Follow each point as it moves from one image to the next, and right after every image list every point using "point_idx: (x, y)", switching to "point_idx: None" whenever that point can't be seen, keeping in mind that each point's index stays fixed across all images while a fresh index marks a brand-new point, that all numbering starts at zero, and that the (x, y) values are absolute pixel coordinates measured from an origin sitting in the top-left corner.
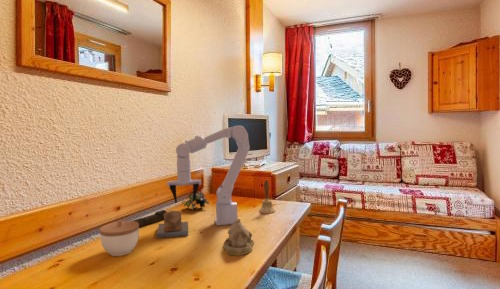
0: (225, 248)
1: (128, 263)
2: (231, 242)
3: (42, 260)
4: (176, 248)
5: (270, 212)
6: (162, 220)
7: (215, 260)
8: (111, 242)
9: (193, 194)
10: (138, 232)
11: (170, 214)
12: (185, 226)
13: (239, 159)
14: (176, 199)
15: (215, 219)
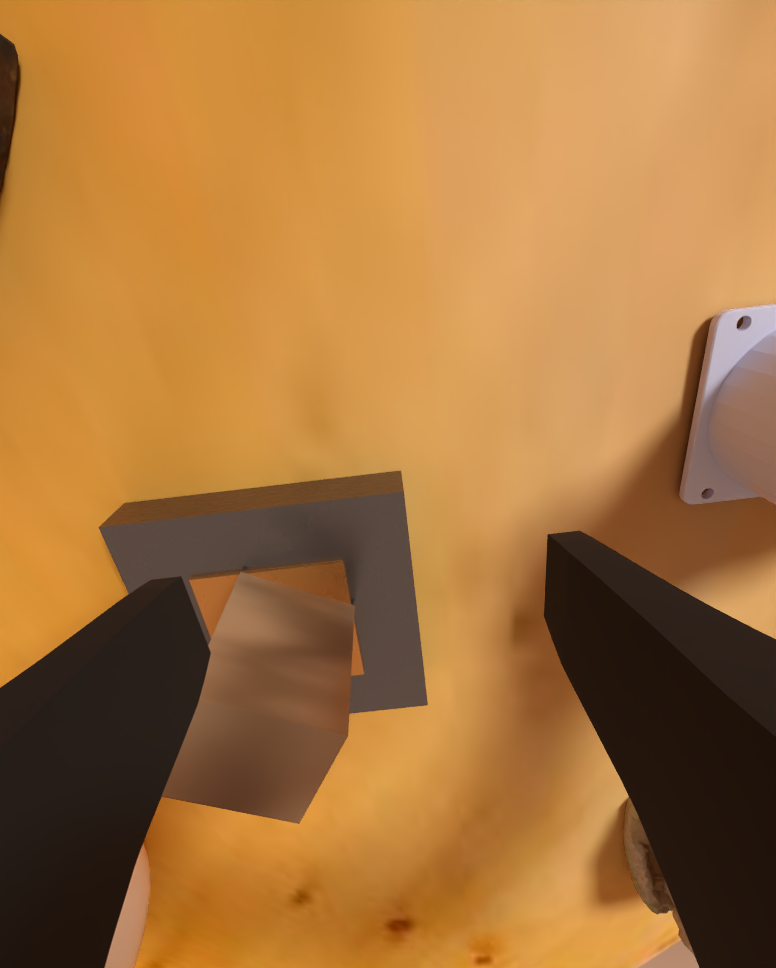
0: (627, 844)
1: (196, 895)
2: None
3: None
4: (376, 808)
5: None
6: (1, 185)
7: (559, 892)
8: None
9: (634, 796)
10: (128, 949)
11: (248, 811)
12: (395, 622)
13: None
14: (186, 723)
15: (723, 329)
